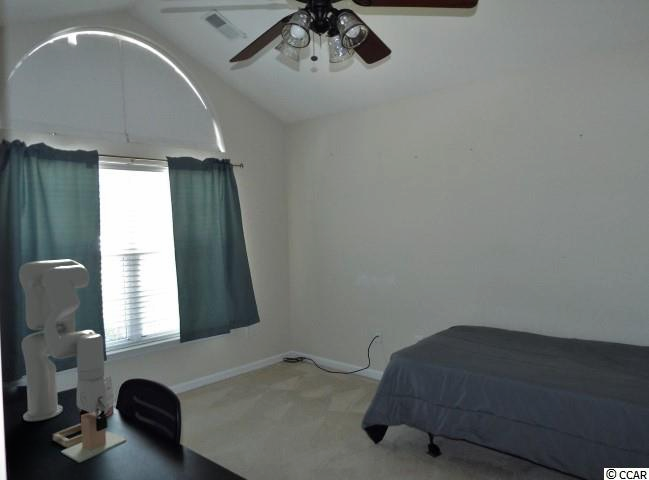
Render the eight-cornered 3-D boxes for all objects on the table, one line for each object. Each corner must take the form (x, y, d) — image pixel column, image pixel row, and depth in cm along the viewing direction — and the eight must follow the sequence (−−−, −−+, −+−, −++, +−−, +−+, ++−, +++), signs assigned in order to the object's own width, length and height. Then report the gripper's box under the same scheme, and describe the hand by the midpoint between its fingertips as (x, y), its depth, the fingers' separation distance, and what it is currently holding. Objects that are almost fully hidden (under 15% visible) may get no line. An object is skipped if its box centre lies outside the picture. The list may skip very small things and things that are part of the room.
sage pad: (61, 452, 135) (61, 450, 135) (107, 432, 148) (107, 431, 148) (79, 462, 129) (79, 460, 129) (126, 441, 142) (126, 439, 142)
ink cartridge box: (102, 412, 165) (101, 374, 164) (114, 412, 164) (112, 374, 163) (86, 422, 156) (84, 382, 156) (98, 423, 156) (96, 383, 155)
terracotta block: (82, 446, 138) (80, 415, 137) (97, 439, 142) (96, 409, 141) (90, 450, 135) (88, 419, 135) (106, 443, 139) (104, 413, 139)
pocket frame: (52, 440, 144) (52, 434, 144) (82, 428, 152) (82, 422, 152) (67, 447, 138) (67, 441, 138) (97, 434, 146) (97, 429, 146)
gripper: (65, 372, 139) (67, 424, 140) (93, 381, 130) (96, 437, 130) (88, 365, 145) (90, 415, 146) (117, 374, 136) (119, 427, 136)
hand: (93, 425), depth 138 cm, fingers open, 9 cm apart
